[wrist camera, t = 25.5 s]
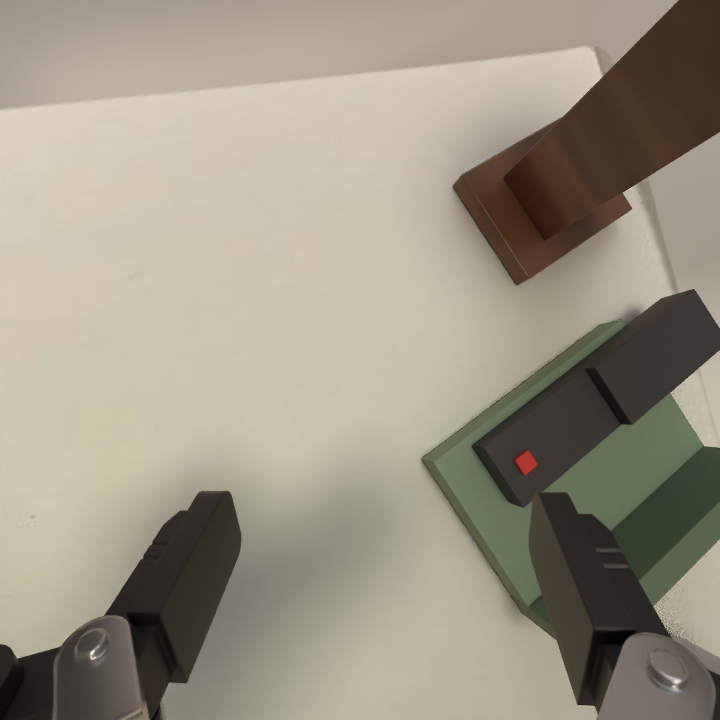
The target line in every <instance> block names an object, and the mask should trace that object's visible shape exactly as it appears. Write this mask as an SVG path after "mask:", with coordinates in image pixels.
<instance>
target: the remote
mask: <svg viewBox="0 0 720 720" xmlns="http://www.w3.org/2000/svg"><path fill="white" fill-rule="evenodd" d="M719 350H720V328H719V327H718V325H717V323H716V322H715V320H714V319H713V317H712V316H711V314H710V313H709V311H708V310H707V308H706V306H705V305H704V303H703V302H702V300H701V299H700V297H699V296H698V294H697V292H696V291H695V290H694V289H692V290H689V291H685V292H682V293H678V294H675V295H671V296H668V297H665V298H661V299H660V300H659V301H657V302H656V303H655V304H653V305H652V306H651V307H650V308H648V309H647V310H646V311H644V312H643V313H642V314H641V315H639V316H638V317H637V318H635V319H634V320H633V321H632V322H630V323H629V324H628V325H626V326H625V327H624V328H623V329H621V330H620V331H619V332H617V333H616V334H615V335H614V336H612V337H611V338H610V339H608V340H607V341H606V342H605V343H603V344H602V345H601V346H599V347H598V348H597V349H595V350H594V351H593V352H592V353H590V354H589V355H588V356H586V357H585V358H584V359H583V360H581V361H580V362H579V363H577V364H576V365H575V366H574V367H572V368H571V369H570V370H568V371H567V372H566V373H564V374H563V375H562V376H561V377H559V378H558V379H557V380H555V381H554V382H553V383H552V384H550V385H549V386H548V387H546V388H545V389H544V390H543V391H541V392H540V393H539V394H537V395H536V396H535V397H534V398H532V399H531V400H530V401H528V402H527V403H526V404H525V405H523V406H522V407H521V408H519V409H518V410H517V411H516V412H514V413H513V414H512V415H510V416H509V417H508V418H507V419H505V420H504V421H503V422H501V423H500V424H499V425H498V426H496V427H495V428H494V429H492V430H491V431H490V432H489V433H487V434H486V435H485V436H483V437H482V438H481V439H479V440H478V441H477V442H476V443H474V444H473V445H472V448H473V449H474V451H475V452H476V454H477V455H478V457H479V458H480V460H481V461H482V463H483V464H484V466H485V467H486V469H487V470H488V472H489V473H490V475H491V477H492V478H493V480H494V481H495V483H496V484H497V486H498V487H499V489H500V490H501V492H502V493H503V495H504V496H505V498H506V499H507V501H508V502H509V503H511V504H514V505H517V506H519V507H522V508H524V507H526V506H527V505H528V504H529V503H530V502H531V501H533V495H534V493H535V492H543V491H544V490H546V489H547V488H548V487H549V486H550V485H551V484H553V483H554V482H555V481H556V480H557V479H558V478H560V477H561V476H562V475H563V474H564V473H566V472H567V471H568V470H569V469H570V468H571V467H573V466H574V465H575V464H576V463H577V462H578V461H580V460H581V459H582V458H583V457H584V456H585V455H587V454H588V453H589V452H590V451H591V450H593V449H594V448H595V447H596V446H597V445H598V444H600V443H601V442H602V441H603V440H604V439H605V438H607V437H608V436H609V435H610V434H611V433H612V432H614V431H615V430H616V429H617V428H618V427H620V426H621V425H633V424H634V423H635V422H636V421H638V420H639V419H640V418H641V417H642V416H643V415H645V414H646V413H647V412H648V411H649V410H650V409H652V408H653V407H654V406H655V405H656V404H657V403H659V402H660V401H661V400H662V399H663V398H664V397H666V396H667V395H668V394H669V393H670V392H671V391H673V390H674V389H675V388H676V387H677V386H678V385H680V384H681V383H682V382H683V381H684V380H685V379H687V378H688V377H689V376H690V375H691V374H692V373H694V372H695V371H696V370H697V369H698V368H699V367H700V366H702V365H703V364H704V363H705V362H706V361H707V360H709V359H710V358H711V357H712V356H713V355H714V354H716V353H717V352H718V351H719Z"/></svg>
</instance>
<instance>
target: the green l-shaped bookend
mask: <svg viewBox="0 0 720 720" xmlns="http://www.w3.org/2000/svg"><path fill="white" fill-rule="evenodd" d="M625 326H626V324H625V322H624V321H623V319H619V320H616V321H612V322H608V323H604V324H601V325H599V326H598V327H596V328H595V329H594V330H592V331H591V332H590V333H588V334H587V335H586V336H584V337H583V338H582V339H580V340H579V341H578V342H576V343H575V344H574V345H572V346H571V347H570V348H568V349H567V350H566V351H564V352H563V353H562V354H560V355H559V356H558V357H556V358H555V359H554V360H552V361H551V362H550V363H548V364H547V365H546V366H544V367H543V368H542V369H540V370H539V371H538V372H536V373H535V374H534V375H532V376H531V377H530V378H528V379H527V380H526V381H524V382H523V383H522V384H520V385H519V386H518V387H516V388H515V389H514V390H512V391H511V392H510V393H508V394H507V395H506V396H504V397H503V398H502V399H500V400H499V401H498V402H496V403H495V404H494V405H492V406H491V407H490V408H488V409H487V410H486V411H484V412H483V413H482V414H480V415H479V416H478V417H476V418H475V419H474V420H472V421H471V422H470V423H468V424H467V425H466V426H464V427H463V428H462V429H460V430H459V431H458V432H456V433H455V434H454V435H452V436H451V437H450V438H448V439H447V440H446V441H444V442H443V443H442V444H440V445H439V446H438V447H436V448H435V449H434V450H432V451H431V452H430V453H428V454H427V455H426V456H424V457H423V458H422V460H423V462H424V463H425V465H426V466H427V468H428V469H429V471H430V472H431V474H432V475H433V477H434V478H435V480H436V481H437V483H438V485H439V486H440V488H441V489H442V491H443V492H444V494H445V495H446V497H447V498H448V500H449V501H450V503H451V504H452V506H453V508H454V509H455V511H456V512H457V514H458V515H459V517H460V518H461V520H462V521H463V523H464V524H465V526H466V527H467V529H468V531H469V532H470V534H471V535H472V537H473V538H474V540H475V541H476V543H477V544H478V546H479V547H480V549H481V550H482V552H483V553H484V555H485V557H486V558H487V560H488V561H489V563H490V564H491V566H492V567H493V569H494V570H495V572H496V573H497V575H498V576H499V578H500V580H501V581H502V583H503V584H504V586H505V587H506V589H507V590H508V592H509V593H510V594H511V596H512V598H513V599H514V601H515V602H516V604H517V605H518V607H519V609H520V610H521V612H522V613H523V614H524V615H525V616H527V617H528V618H529V619H530V620H532V621H533V622H534V623H535V624H537V625H538V626H539V627H540V628H542V629H543V630H544V631H545V632H547V633H548V634H549V635H551V636H552V637H553V638H554V639H556V637H555V634H554V630H553V627H552V624H551V621H550V618H549V615H548V612H547V609H546V606H545V603H544V599H543V596H542V593H541V590H540V587H539V584H538V581H537V578H536V575H535V572H534V568H533V565H532V562H531V558H530V552H529V541H528V540H529V528H530V519H531V510H532V501H531V502H530V503H529V504H528V505H527V506H526V507H524V508H522V507H519V506H517V505H514V504H511V503H509V502H508V501H507V499H506V498H505V496H504V495H503V493H502V492H501V490H500V489H499V487H498V486H497V484H496V483H495V481H494V480H493V478H492V477H491V475H490V473H489V472H488V470H487V469H486V467H485V466H484V464H483V463H482V461H481V460H480V458H479V457H478V455H477V454H476V452H475V451H474V449H473V448H472V445H473V444H474V443H476V442H477V441H478V440H479V439H481V438H482V437H483V436H485V435H486V434H487V433H489V432H490V431H491V430H492V429H494V428H495V427H496V426H498V425H499V424H500V423H501V422H503V421H504V420H505V419H507V418H508V417H509V416H510V415H512V414H513V413H514V412H516V411H517V410H518V409H519V408H521V407H522V406H523V405H525V404H526V403H527V402H528V401H530V400H531V399H532V398H534V397H535V396H536V395H537V394H539V393H540V392H541V391H543V390H544V389H545V388H546V387H548V386H549V385H550V384H552V383H553V382H554V381H555V380H557V379H558V378H559V377H561V376H562V375H563V374H564V373H566V372H567V371H568V370H570V369H571V368H572V367H574V366H575V365H576V364H577V363H579V362H580V361H581V360H583V359H584V358H585V357H586V356H588V355H589V354H590V353H592V352H593V351H594V350H595V349H597V348H598V347H599V346H601V345H602V344H603V343H605V342H606V341H607V340H608V339H610V338H611V337H612V336H614V335H615V334H616V333H617V332H619V331H620V330H621V329H623V328H624V327H625ZM543 492H567V493H568V494H569V496H570V498H571V500H572V502H573V504H574V506H575V508H576V510H577V512H578V514H593V515H594V516H595V517H596V518H597V519H598V520H599V521H601V522H602V523H603V524H604V525H605V526H606V527H607V528H608V529H609V530H610V531H611V533H612V534H613V536H614V538H615V540H616V541H617V543H618V545H619V547H620V549H621V553H623V554H624V556H625V557H626V559H627V561H628V563H629V565H630V569H632V570H633V572H634V574H635V575H636V577H637V579H638V581H639V582H640V584H641V586H642V588H643V590H644V591H645V593H646V595H647V597H648V598H649V600H650V602H651V604H652V606H654V605H655V604H656V603H657V602H658V601H659V600H660V599H661V598H662V597H663V596H664V595H665V594H666V593H667V592H668V591H669V590H670V589H671V588H672V587H673V586H674V585H675V584H676V583H677V582H678V581H679V580H680V579H681V578H682V577H683V576H684V575H685V574H686V573H687V572H688V571H689V570H690V569H691V568H692V567H693V566H694V565H695V563H696V562H697V561H698V560H699V559H700V558H701V557H702V556H703V555H704V554H705V553H706V552H707V551H708V550H709V549H710V548H711V547H712V546H713V545H714V544H715V543H716V542H717V541H718V540H719V539H720V448H717V447H704V445H703V444H702V442H701V441H700V439H699V437H698V436H697V434H696V433H695V431H694V430H693V428H692V427H691V425H690V423H689V422H688V420H687V419H686V417H685V416H684V414H683V413H682V411H681V409H680V408H679V406H678V405H677V403H676V402H675V400H674V399H673V397H672V395H671V394H670V393H669V394H668V395H667V396H666V397H664V398H663V399H662V400H661V401H660V402H659V403H657V404H656V405H655V406H654V407H653V408H652V409H650V410H649V411H648V412H647V413H646V414H645V415H643V416H642V417H641V418H640V419H639V420H638V421H636V422H635V423H634V424H633V425H621V426H620V427H618V428H617V429H616V430H615V431H614V432H612V433H611V434H610V435H609V436H608V437H607V438H605V439H604V440H603V441H602V442H601V443H600V444H598V445H597V446H596V447H595V448H594V449H593V450H591V451H590V452H589V453H588V454H587V455H585V456H584V457H583V458H582V459H581V460H580V461H578V462H577V463H576V464H575V465H574V466H573V467H571V468H570V469H569V470H568V471H567V472H566V473H564V474H563V475H562V476H561V477H560V478H558V479H557V480H556V481H555V482H554V483H553V484H551V485H550V486H549V487H548V488H547V489H546V490H544V491H543Z"/></svg>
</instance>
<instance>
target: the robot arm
mask: <svg viewBox="0 0 720 720" xmlns="http://www.w3.org/2000/svg"><path fill="white" fill-rule="evenodd" d="M528 541H529V552H530V558H531V562H532V565H533V568H534V572H535V575H536V578H537V581H538V584H539V587H540V590H541V593H542V596H543V599H544V603H545V606H546V609H547V612H548V615H549V618H550V621H551V624H552V627H553V630H554V634H555V637H556V640H557V643H558V646H559V649H560V652H561V655H562V658H563V662H564V665H565V668H566V671H567V674H568V677H569V680H570V683H571V686H572V689H573V693H574V696H575V699H576V702H577V705H593V706H595V707H596V710H597V713H598V717H597V720H720V675H719V674H717V673H714V672H712V671H710V670H708V669H707V668H706V667H705V666H704V664H703V663H702V662H701V661H700V660H699V659H698V658H697V656H695V655H694V654H693V653H692V652H691V651H690V650H688V649H687V648H686V647H684V646H683V645H681V644H680V643H678V642H676V641H675V640H673V639H672V638H671V637H670V635H669V634H668V632H667V631H666V629H665V627H664V625H663V623H662V622H661V620H660V618H659V616H658V614H657V613H656V611H655V609H654V607H653V606H652V604H651V602H650V600H649V598H648V597H647V595H646V593H645V591H644V590H643V588H642V586H641V584H640V582H639V581H638V579H637V577H636V575H635V574H634V572H633V570H632V569H630V565H629V563H628V561H627V559H626V557H625V556H624V554H623V553H621V549H620V547H619V545H618V543H617V541H616V540H615V538H614V536H613V534H612V533H611V531H610V530H609V529H608V528H607V527H606V526H605V525H604V524H603V523H602V522H601V521H599V520H598V519H597V518H596V517H595V516H594V515H593V514H578V512H577V510H576V508H575V506H574V504H573V502H572V500H571V498H570V496H569V494H568V493H567V492H535V493H534V495H533V501H532V510H531V519H530V528H529V540H528ZM240 548H241V531H240V527H239V523H238V519H237V515H236V511H235V507H234V503H233V499H232V495H231V493H230V492H229V491H201V492H199V493H198V494H197V496H196V497H195V499H194V501H193V502H192V504H191V506H190V507H189V509H188V511H179V512H178V513H177V514H175V515H174V516H173V517H172V518H171V519H170V520H168V521H167V522H166V523H165V524H164V525H163V526H162V528H161V529H160V531H159V532H158V534H157V535H156V537H155V539H154V540H153V543H152V545H150V546H149V548H148V549H147V551H146V552H145V554H144V557H143V559H141V560H140V562H139V563H138V565H137V566H136V568H135V569H134V571H133V573H132V574H131V576H130V577H129V579H128V580H127V582H126V583H125V585H124V586H123V588H122V589H121V591H120V593H119V594H118V596H117V597H116V599H115V600H114V602H113V603H112V605H111V606H110V608H109V610H108V611H107V613H106V614H105V615H104V616H102V617H98V618H96V619H93V620H91V621H89V622H87V623H86V624H84V625H83V626H81V627H80V628H78V629H77V630H76V631H75V632H73V633H72V634H71V635H70V636H69V637H68V638H67V639H66V641H65V642H64V643H63V644H62V646H61V647H58V648H54V649H51V650H47V651H44V652H40V653H36V654H33V655H29V656H26V657H22V658H18V659H17V658H16V656H15V655H14V653H13V651H12V650H11V648H10V647H8V646H6V645H3V644H0V720H166V715H165V710H164V705H163V702H162V697H163V695H164V693H165V690H166V688H167V686H168V684H169V682H170V683H187V682H188V679H189V677H190V674H191V672H192V669H193V667H194V664H195V662H196V659H197V657H198V655H199V652H200V650H201V647H202V645H203V642H204V640H205V637H206V635H207V633H208V630H209V628H210V625H211V623H212V620H213V618H214V615H215V613H216V610H217V608H218V606H219V603H220V601H221V598H222V596H223V593H224V591H225V588H226V586H227V583H228V581H229V579H230V576H231V574H232V571H233V569H234V566H235V564H236V561H237V559H238V556H239V553H240Z"/></svg>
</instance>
